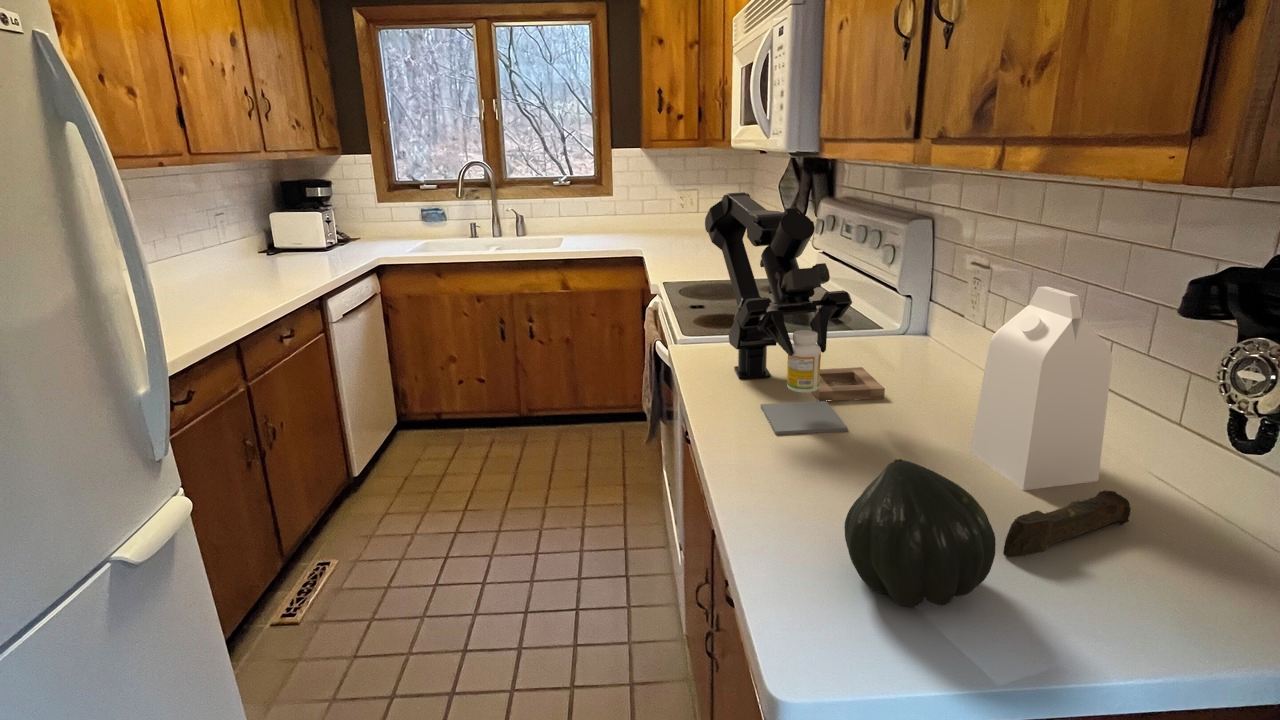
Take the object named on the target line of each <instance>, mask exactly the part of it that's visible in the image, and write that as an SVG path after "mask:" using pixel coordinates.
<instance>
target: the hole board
mask: <svg viewBox="0 0 1280 720" xmlns="http://www.w3.org/2000/svg"><path fill="white" fill-rule="evenodd" d="M826 382H835V383H850V382H851V383H854V384H851V385H850V384H849V385H848V384H847V385H831V386H830V385H829V383H826ZM885 389H886V388H885V387H884V386H883V385H881V383H880V382H879V381H878V380H876V379H875V378H874V377H873V376H872V375H871V374H870V373H869V372H868V371H867V370H866V369H865V368H863V366H860V367H840V368H822V369H821V368H820V380H819V388H818V389H817V390H816V391H813V392H811V393H812V395H813V394H814V395H815V396H816V397H815V396H814V395H813V396H814V397H815V399H816V398H817V399H818V400H819V401H826V400H850V401H856V400H855V399H869V400H883V398H884V399H885V391H886V390H885ZM880 398H881V399H880ZM817 399H816V400H817ZM818 400H817V401H818Z"/></svg>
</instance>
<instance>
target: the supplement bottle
mask: <svg viewBox="0 0 1280 720" xmlns="http://www.w3.org/2000/svg"><path fill="white" fill-rule="evenodd" d="M817 337H818V334H817V332H815V331H812V329H811V330H809V329H797V330H795V331H793V333H792V341H793V343H792V347H793V352H794V353H793V355H792V356H789V355H788V354H787V372H786V373H787V374H786V385H787V388H788V389H789V390H790V391H793V392H796V393H812V392H813V391H816V390H817V389H818V388H819V380H820V369H821V361H822V360H821V358H822V352H821V348H820V346H819V345H818V344H817V340H818V339H817Z"/></svg>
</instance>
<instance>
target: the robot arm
mask: <svg viewBox="0 0 1280 720" xmlns="http://www.w3.org/2000/svg"><path fill="white" fill-rule="evenodd" d="M704 228H705V231H706V233H708V236H709V239H710V241H711V243H712V244H713V245H714V246H716V247H717V248H718V249H719V250H721V252H722V255H723V260H724V262H725V266H726V269H727V273H728V276H729V277H728V278H729V280H730V283H731V287H732V291H733V294H734V297H735V300H736V303H737V304H736V305H737V309H736V312H735V315H734V317H733V324H732V325H731V327H730V329H729V332H728V341H729V345H731V346H732V347H733V348H734V349H735V350H737V351H738V352H737V353H738V355H737V356H738V357H737V359H738V361H737V362H738V364H737V365H736V366H734V367H733V369H734V371H735V373H736V376H737V377H738V379H743V380H744V379H760V378H761V379H763V378H771V377H772V375H771V372H770V371H769V369H768V368H767V358H768V357H767V355H768V350H767V347H771V346H772V347H775V346H777V345H778V346H780V348H782V350H783V351H784V352H785V353H786V354H787V356H788V355H789V356H792V355H793V353H794V352H793V347H792V344H793V343H792V341H791V337H790V334H789V332H788V330H787V327H786V324H785V316H786V315H797V314H799V315H800V314H808V313H809V314H811V317H812V320H811V321H810V323H809V326H810V328H811V331H815V332H817V334H818V337H817V339H818V340H817V342H816V344H817V345H819V346H820V348H821V354H822V353H825V352H826V350H827V339H828V325H829V321H831V320H834V321H835V320H839V319H841V318H842V317H843V316H844V314H846V312H847V310H848V309H849V308H850V306H852V304H853V301H852V298H851V295H850V293H849V292H848V291H846V290H834V291H832V290H831V291H825V293H824V294H823V296H822V297H821V298H820V300H819V299H817V300H810V298H812V297H814V295H815V293H816V292H815V289H817V288H821V287H822V285H823V284H826V283H828V282H829V281H830V278H831V276H830V270H829V268H828V266H827V263H826V262H825V263H816V264H814V265H812V267H804V268H800V267H799V263H798V260H797V258H799V257H801V255H803V252H804V251H805V250H806V247H807V246H808V244H809V242H810V240H811V238H812V236H813V235H814V233H815V229H816V227H815V223H814V221H813V220H811V218H809V217H808V216H807V215H805V214H803V213H801V212H799V211H798V208H797V207H789V208H788V207H786V208H785V209H784V211H779V210H768V209H766V208H765V207H764V206H762V205H761V204H760V203H758V202H757V201H755V200H754V199H753V198H752V197H751V195H750V194H749V193H746V192H745V191H743V192H729V193H726V194H724V195H723V196H722V198H721V200H720V201H718V202H717V203H715V204H713V205H712V206H711V207H710V208H709V209H708V212H707V214H706V216H705V218H704ZM745 234H746V238H747V239H748V240H749V242H750V243H751V244H752V246H754V247H765V248H764V249H763V251H762V253H761V255H760V258H761V259H760V262H759V263H760V264H759V266H760V268H764V271H765V273H766V278H767V281H768V282H767V283H768V285H769V286H768V288H767V291H768V294H769V295H771V294H772V298H773V301H772V299H771V298H769V297H764V296H763V297H762V296H761V294H760V293H759V292H760V291H759V288H758V286H757V282H756V278H755V276H754V275H755V274H754V273H753V270H752V266H751V263H750V259H749V256H748V253H747V250H746V247H745V246H746V245H745V244H744V237H745Z"/></svg>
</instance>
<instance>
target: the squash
mask: <svg viewBox="0 0 1280 720" xmlns="http://www.w3.org/2000/svg"><path fill="white" fill-rule="evenodd" d="M844 539H845V543H846V547H847V551H848V555H849V557H850V560H851V563H852V565H853V566H854V569H855V570H856V572H857V573H858V576H859V577H860V579H861V580H862V582H863V583H864V584H865V585H866V586H867V587H868V588H870V589H871V590H872V591H873V592H876V593H879V594H883V595H889V596H890V598H891V599H892V600H893V601H894V603H896V604H898V605H899V606H901V607H905V608H913V607H916V606H919V605H920V604H922V603H923V601H924V599H926V601H927V602H929V603H930V604H932V605H936V606H945V605H947V604H949V603H950V602H951V601H952V600H953V599H954V597H961V596H966V595H968V594H970V593H971V592H973V591H974V590H975V589H976V587H978V586H980V585H981V584H982V583H983V582H984V581H985V580H986V578H987V576H989V573H990V572H991V569H992V567H993V563H994V560H995V557H996V546H997V545H996V535H995V532H994V529H993V526H992V524H991V523H990V520H989V518H988V515H987V513H986V511H985V509H984V508H983V507H982V506H981V505H980V503H979V502H978V501H977V499H976V498H975V497H974V496H973V495H972V494H971V493H970V492H969V491H967V490H966V489H965V488H963V487H962V486H961V485H959V484H957V483H955V482H954V481H953V480H951V479H949V478H947V477H945V476H943V475H941V474H939V473H938V472H935V471H934V470H932V469H930V468H927V467H925V466H923V465H920V464H917V463H916V462H915V463H914V462H912V461H908V460H905V459H902V458H900V457H899V458H894V460H893V461H892V462H890V463H889V464H888V465H887V466H885V468H884V469H882V471H881V472H880V473H879V475H878V476H877V477H876V478H875V479H873V480H872V481H871V482H870V484H868V485H867V486H866V487H865V489H864V490H863V491H862V493H861V494H860V495H859V497H858V498H857V499H856V500H855V501H854V502H853V504H852V505H851V507H850V508H849V509H848V512H847V515H846V517H845V520H844Z"/></svg>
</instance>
